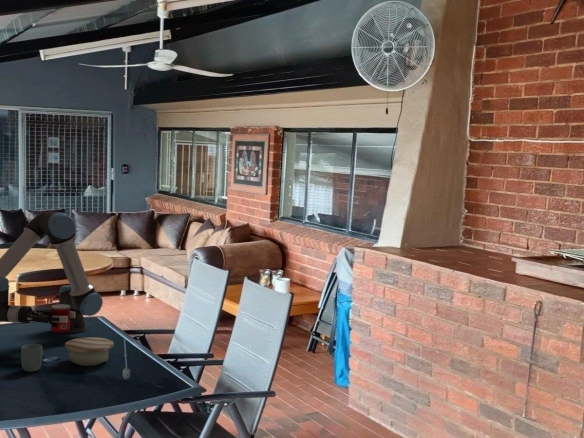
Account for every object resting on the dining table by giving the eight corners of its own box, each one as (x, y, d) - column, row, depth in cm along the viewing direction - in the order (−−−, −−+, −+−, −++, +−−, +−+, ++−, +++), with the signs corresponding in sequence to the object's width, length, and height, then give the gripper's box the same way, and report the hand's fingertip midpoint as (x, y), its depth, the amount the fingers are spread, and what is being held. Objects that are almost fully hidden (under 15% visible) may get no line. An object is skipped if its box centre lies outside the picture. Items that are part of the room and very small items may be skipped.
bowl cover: (75, 338, 295) (75, 336, 295) (119, 341, 294) (119, 339, 294) (57, 350, 275) (57, 348, 275) (104, 354, 274) (104, 351, 274)
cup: (34, 374, 265) (35, 349, 265) (17, 372, 267) (17, 347, 266) (45, 368, 273) (46, 345, 272) (28, 366, 274) (29, 343, 274)
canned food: (72, 328, 296) (72, 304, 295) (64, 333, 288) (65, 308, 287) (56, 327, 297) (56, 303, 296) (47, 332, 289) (48, 307, 288)
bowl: (77, 355, 293) (78, 340, 293) (113, 358, 292) (113, 342, 292) (63, 366, 277) (63, 350, 277) (100, 368, 276) (101, 352, 276)
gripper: (31, 317, 304) (79, 319, 303) (9, 328, 283) (61, 331, 282) (31, 301, 303) (80, 303, 302) (9, 311, 282) (61, 314, 281)
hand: (71, 317), depth 292 cm, fingers closed on canned food, 8 cm apart
